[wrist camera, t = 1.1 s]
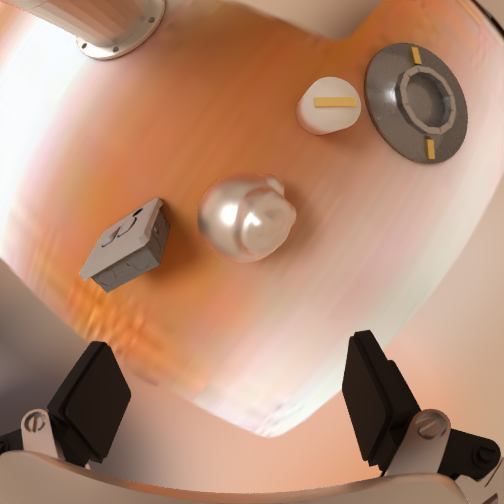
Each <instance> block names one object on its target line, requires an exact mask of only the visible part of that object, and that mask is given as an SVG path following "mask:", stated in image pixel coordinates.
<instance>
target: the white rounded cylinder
mask: <svg viewBox="0 0 504 504" xmlns="http://www.w3.org/2000/svg"><path fill="white" fill-rule="evenodd" d="M360 112H361V101H360V98H359V95H358V93H357V91H356V90H355V89H354V87H353V86H352V85H351V84H349V83H348V82H346V81H345V80H343V79H340V78H337V77H324V78H321V79H319V80H317V81H316V82H314V83H313V84H312V85H311V87H310V88H309V89H308V90H307V91H306V93H305V94H304V95H303V96H302V98H301V99H300V100H299V101H298V103H297V106H296V110H295V113H296V118H297V121H298V123H299V124H300V126H301V127H302V128H303V129H304V130H306V131H307V132H309V133H311V134H315V135H324V134H327V133H331V132H334V131H338V130H341V129H345V128H348V127H350V126H351V125H353V124H354V123H355V122H356V121H357V119H358V117H359V115H360Z"/></svg>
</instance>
